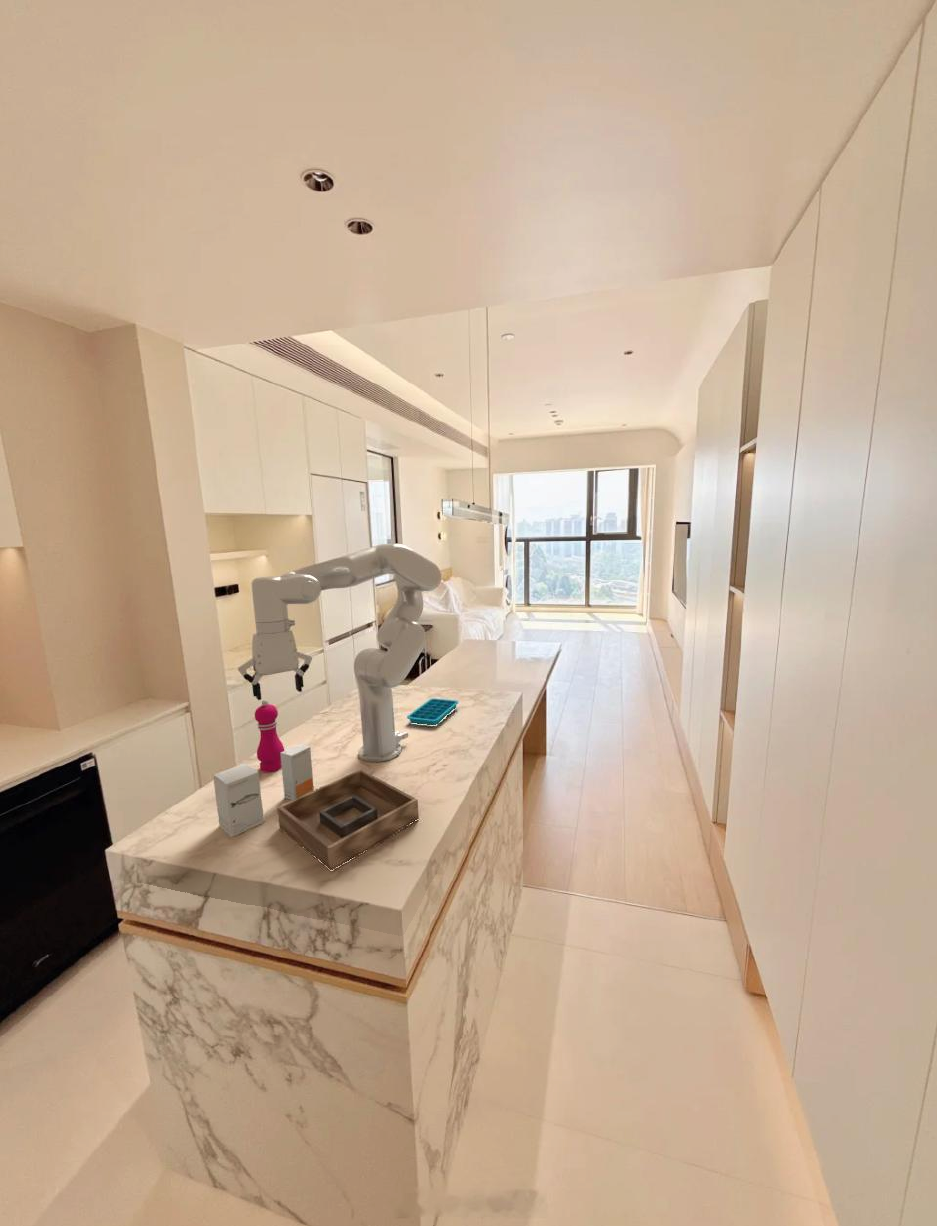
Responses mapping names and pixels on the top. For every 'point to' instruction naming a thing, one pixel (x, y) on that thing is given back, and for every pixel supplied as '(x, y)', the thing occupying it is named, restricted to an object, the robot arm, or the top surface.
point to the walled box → (347, 817)
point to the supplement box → (238, 799)
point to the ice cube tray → (432, 711)
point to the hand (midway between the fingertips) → (279, 694)
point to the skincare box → (297, 771)
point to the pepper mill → (268, 738)
